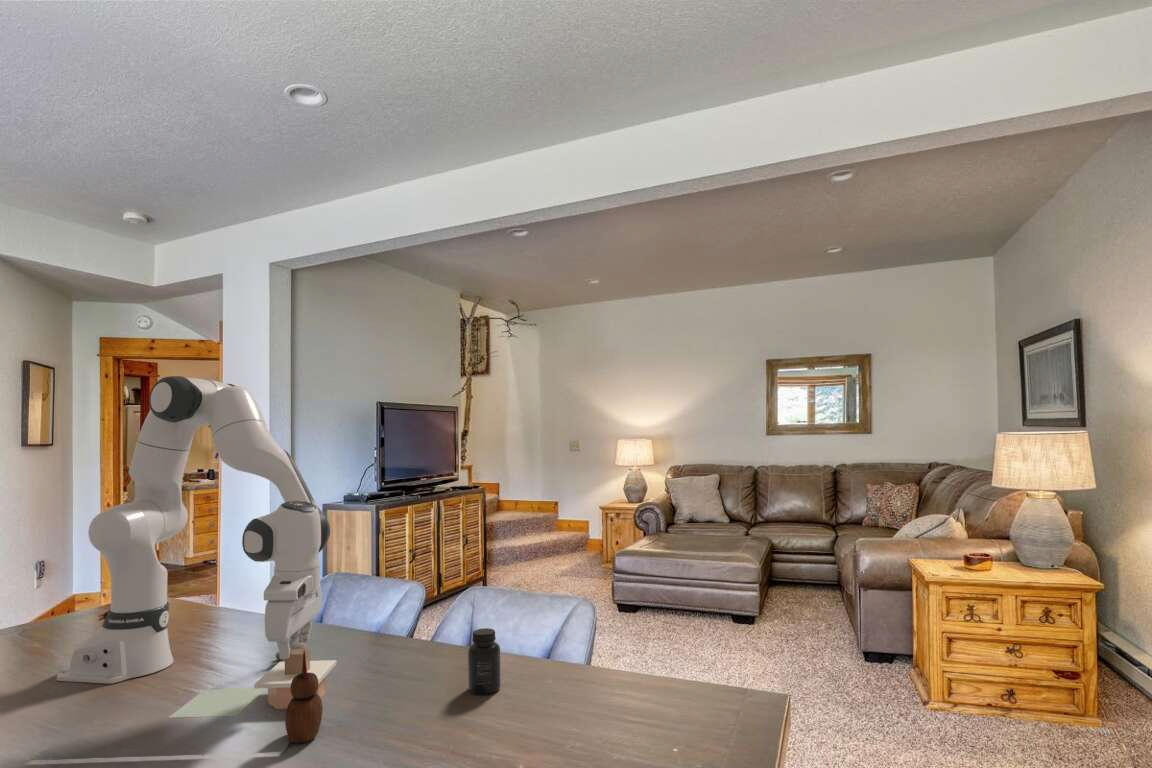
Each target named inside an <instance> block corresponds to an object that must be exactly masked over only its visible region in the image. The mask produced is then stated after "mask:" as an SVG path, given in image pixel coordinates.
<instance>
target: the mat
mask: <svg viewBox="0 0 1152 768" xmlns="http://www.w3.org/2000/svg"><path fill="white" fill-rule="evenodd" d="M266 689H267V688H254V687H252V688H248V687H247V688H225V689H224V688H223V689H222V688H221V689H220V688H219V689H217V688H216V689H215V688H213V689H203V690H202V691H201V692H200V693H198V694H197V695H196V696H194V697H193V698H191V699H190V700H189V701H188V702H186V703H185V704H184V705H183V706H181V707H180V708H179V709H177V710H176V711H175V712H173V713H172V714H171V715H169V716H168V719H174V718H175V719H177V718H178V719H179V718H208V717H209V718H210V717H213V718H214V717H234V716H235V717H237V716H239V715H240V714H241V713H242V712H243V711H244V710H245V709H246V708H247V707H249V705H250V704H251V703H253V702H254V701H255V700H256V699H257V698H258V697H259V696H260V695H262V693H263V692H264V691H265V690H266Z"/></svg>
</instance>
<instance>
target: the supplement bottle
mask: <svg viewBox="0 0 1152 768" xmlns="http://www.w3.org/2000/svg"><path fill="white" fill-rule="evenodd" d="M472 631H473V632H472V638H471V639H472V640H471V641H472V644H470V645H469V647H468V650H467V672H468V673H467V675H468V677H467V679H468V681H467V682H468V683H467V684H468V690H469V691H468V692H470V693H471V694H474V695H479V696H486V695H491V694H493V693H497V692H498V691H499V689H500V688H501V686H502V685H501V683H502V682H501V681H502V680H501V675H502V674H501V646H500V645H499V644H498V643H497V642H496V638H497V637H496V630H495V629H494V628H478V629H475V630H472Z"/></svg>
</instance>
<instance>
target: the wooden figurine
mask: <svg viewBox="0 0 1152 768" xmlns="http://www.w3.org/2000/svg"><path fill="white" fill-rule="evenodd" d="M317 689H318V678H317V676H316V675H315V674H314V673H309V672H308V673H307V669H306V657H305V650H304V653H303V665H302V673H301V674H299V675H297V676H295V677H294V678H293V680H292V683H291V694H292V696H293V698H292V699H291V701H290V702H289V704H288V706H287V709H285V710H286V713H285V723H284V725H285V730H286V733H287V736H288V739H289V740H290V741H291V742H292V743H294V744H303V743H307V742H310V741H312V740H313V739H315V737H317V735H319V734H318V733H319V731H320V727H321V725H322V719H323V718H322V717H323V710H324V709H323V708H324V707H323V701H322V697H321V698H320V696H319V695H318V694H317V693H316V691H317Z"/></svg>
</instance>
